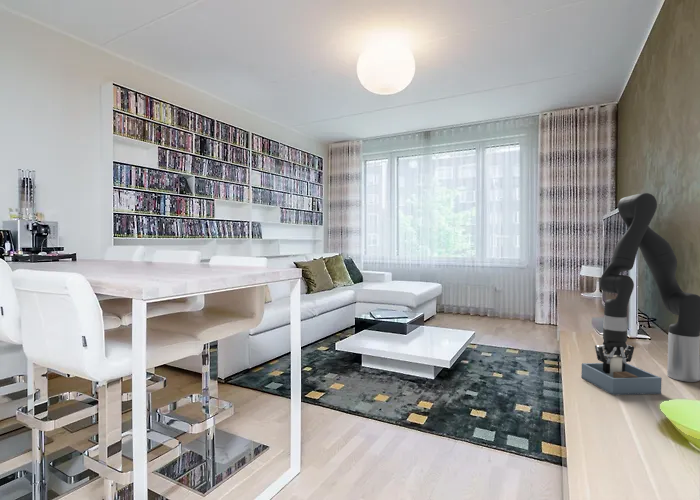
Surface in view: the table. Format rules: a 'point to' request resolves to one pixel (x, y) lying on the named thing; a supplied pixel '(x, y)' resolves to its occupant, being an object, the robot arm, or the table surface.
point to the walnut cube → (623, 375)
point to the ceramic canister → (615, 365)
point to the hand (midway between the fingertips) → (613, 372)
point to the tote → (622, 380)
